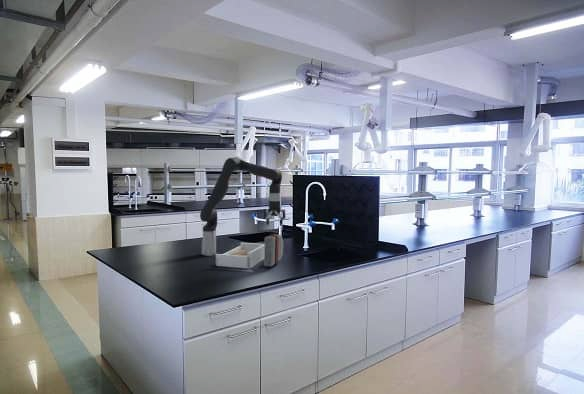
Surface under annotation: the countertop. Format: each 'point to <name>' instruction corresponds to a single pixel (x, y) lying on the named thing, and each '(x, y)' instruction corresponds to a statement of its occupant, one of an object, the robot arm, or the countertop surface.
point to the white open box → (242, 261)
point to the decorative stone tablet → (273, 250)
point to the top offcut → (240, 253)
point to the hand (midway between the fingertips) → (274, 225)
